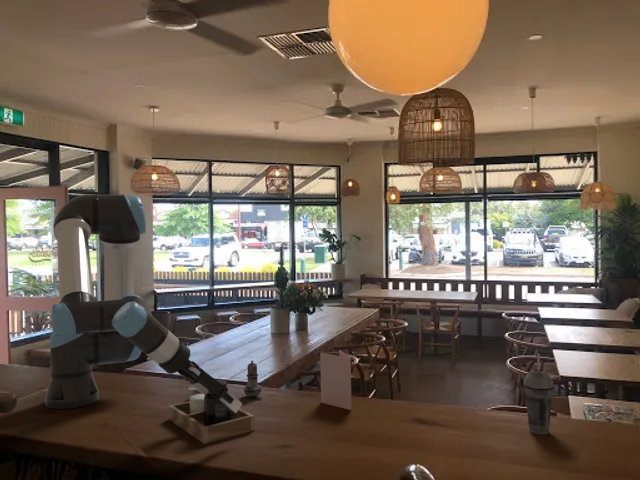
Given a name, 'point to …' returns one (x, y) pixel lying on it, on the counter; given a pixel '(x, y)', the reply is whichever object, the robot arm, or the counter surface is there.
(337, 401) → the greeting card
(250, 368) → the salt shaker
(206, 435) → the caddy
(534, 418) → the beverage cup
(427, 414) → the counter surface
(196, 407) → the pale green dome
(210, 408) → the supplement bottle
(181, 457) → the counter surface
